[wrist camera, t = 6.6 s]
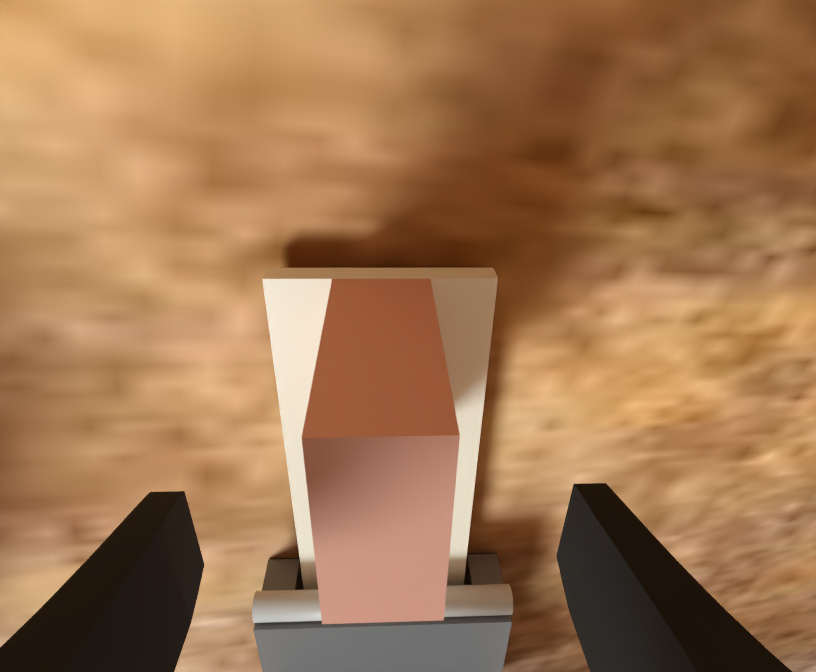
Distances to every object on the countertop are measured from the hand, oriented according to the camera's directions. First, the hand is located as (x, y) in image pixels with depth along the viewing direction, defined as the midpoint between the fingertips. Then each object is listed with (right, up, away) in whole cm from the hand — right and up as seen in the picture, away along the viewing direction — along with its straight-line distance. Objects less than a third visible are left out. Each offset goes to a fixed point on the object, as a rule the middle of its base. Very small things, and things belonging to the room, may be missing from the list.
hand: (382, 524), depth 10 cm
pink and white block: (0, -1, +8) cm, 8 cm away
